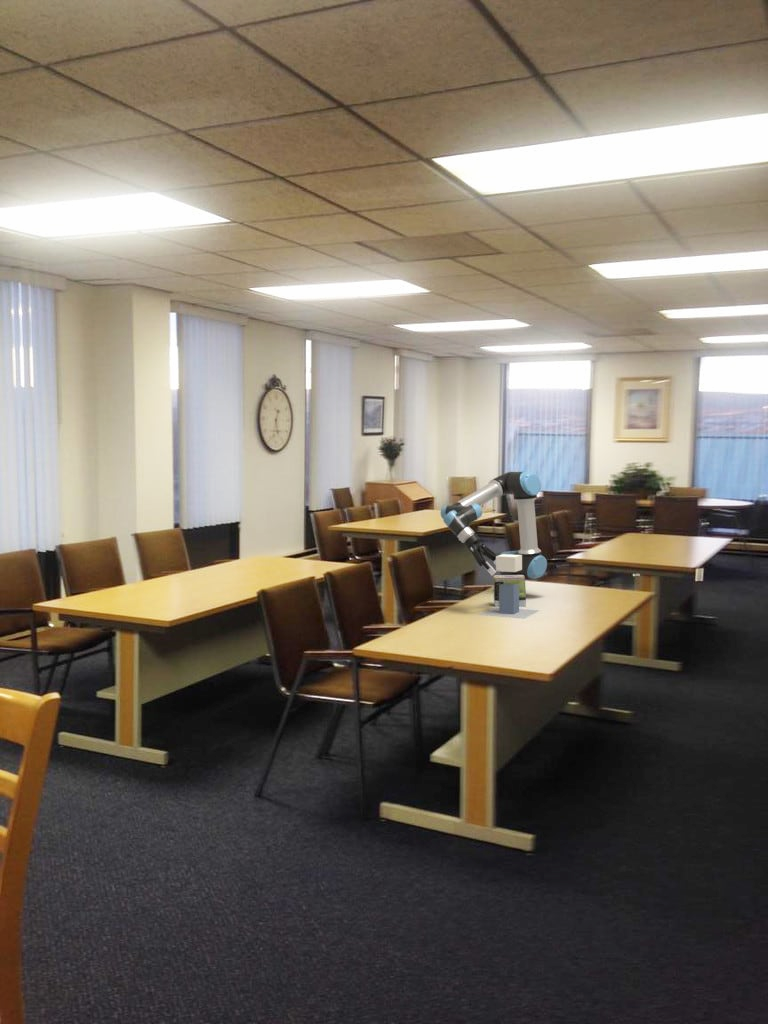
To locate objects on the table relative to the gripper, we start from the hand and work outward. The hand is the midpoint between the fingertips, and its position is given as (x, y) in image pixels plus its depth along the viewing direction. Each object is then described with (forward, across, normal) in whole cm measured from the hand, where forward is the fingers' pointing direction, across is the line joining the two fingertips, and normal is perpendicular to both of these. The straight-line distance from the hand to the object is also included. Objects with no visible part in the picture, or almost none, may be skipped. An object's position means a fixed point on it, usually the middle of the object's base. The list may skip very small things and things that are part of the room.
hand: (499, 572), depth 396 cm
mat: (+17, 0, -10) cm, 20 cm away
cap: (+2, 0, +4) cm, 5 cm away
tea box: (+12, -19, -15) cm, 27 cm away
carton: (+16, 0, -10) cm, 19 cm away
